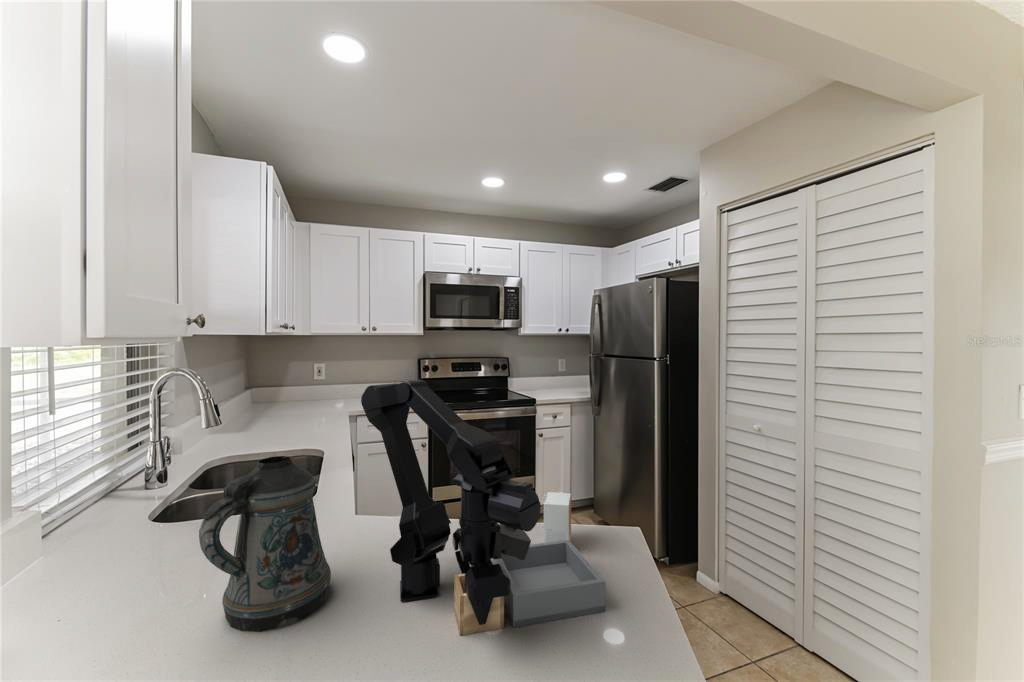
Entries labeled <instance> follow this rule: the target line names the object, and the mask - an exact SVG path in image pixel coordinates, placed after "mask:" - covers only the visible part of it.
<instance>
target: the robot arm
mask: <svg viewBox="0 0 1024 682" xmlns="http://www.w3.org/2000/svg"><path fill="white" fill-rule="evenodd" d="M360 402H361V405H362V406H361V407H362V408H363V411H364V413H365V415H366V419H367V420H368V421H367V422H369V423H370V424H371V425H372V426H373V427H374V428H375V429H377V430H378V431H379V432H380V434H381V437H382V441H383V444H384V448H385V451H386V454H387V455H386V456H387V458H388V461H389V465H390V468H391V471H392V475H393V478H394V482H395V485H396V488H397V491H398V495H399V498H400V502H401V506H402V509H401V514H400V519H399V524H398V528H399V533H400V538H399V539H398V540H397V541H396V542H395V544H393V545H392V546H391V548H390V549H389V551H390V557H391V561H392V562H393V563H395V564H397V565H400V581H399V584H400V585H399V590H400V591H399V595H400V596H399V597H400V598H399V601H400V602H402V603H403V602H408V601H409V602H410V601H415V600H424V599H429V598H435V597H436V598H437V597H438V596H439V592H438V591H439V590H438V588H440V586H441V563H440V560H439V558H438V557H437V554H438V553H440V552H443V551H444V550H445V548H446V544H447V542H448V541H449V539H450V538H449V537H450V535H451V526H450V524H451V523H452V522H451V520H450V518H449V516H448V514H447V513H448V512H447V510H446V509H447V508H446V505H445V503H444V502H443V501H440V502H436V501H435V500H434V499H433V498H432V497H431V496H430V493H429V490H428V488H427V484H426V481H425V478H424V475H423V471H422V469H421V466H420V462H419V459H418V456H417V453H416V450H415V446H414V444H413V440H412V437H411V434H410V431H409V428H408V424H407V423H408V422H407V421H408V418H409V414H410V409H411V410H412V411H413V412H414V414H416V415H417V416H418V417H419V418H420V420H422V421H423V422H424V423H425V424H426V426H428V428H429V429H431V431H432V432H433V433H434V434H435V435H436V436H437V437H438V438H439V439H440V440H441V441H442V443H443V444H444V445H445V447H446V452H447V457H448V458H449V460H450V462H451V463H452V464H453V466H454V467H455V469H456V470H457V471H458V474H457V475H456V476H455V477H453V478H452V479H451V481H450V484H451V485H453V486H456V487H460V496H461V497H460V517H458V524H459V528H457V529H456V530H455V531H454V532H453V534H452V546H453V550H454V551H455V552H454V555H455V557H456V561H457V564H458V567H459V570H460V572H461V574H465V584H464V587H465V590H466V594H467V596H468V599H469V601H470V603H471V606H472V608H473V611H474V613H475V616H476V618H477V621H478V623H479V625H483V624H486V622H487V618H488V615H489V611H490V608H491V604H492V601H493V598H496V597H502V596H508V595H509V594H510V578H509V576H508V574H507V572H506V570H505V569H504V568H503V567H502V566H501V565H500V564H492V558H493V559H501V553H502V554H505V555H508V556H512V557H517V558H518V559H519V560H525V558H526V555H527V552H528V549H529V546H530V545H531V542H532V540H531V538H530V537H529V535H528V533H527V532H531V531H532V530H533V529H534V528H535V527H536V525H537V523H538V521H539V518H540V515H541V514H540V513H541V506H542V505H541V501H540V499H539V496H538V494H537V493H536V492H535V491H534V489H533V488H534V485H533V483H531V482H528V481H522V482H521V481H518V480H517V481H516V480H514V479H515V478H516V474H515V472H514V470H513V469H512V466H511V465H510V463H509V461H508V458H506V456H505V454H504V452H503V449H502V448H503V447H502V445H501V443H500V441H499V440H498V439H497V438H496V437H494V436H493V435H492V434H490V433H488V432H487V431H485V430H484V429H482V428H479V427H476V426H473V425H470V424H469V423H468V422H467V421H465V420H464V419H463V418H462V417H460V416H459V414H457V413H456V412H455V411H454V410H453V409H452V408H451V407H450V406H449V405H448V404H447V403H446V402H445V401H443V399H442V398H440V396H438V395H437V394H436V393H435V391H433V390H432V389H431V388H430V386H429V383H428V382H426V380H423V379H415V380H404V381H402V382H400V383H397V382H395V383H383V384H382V383H381V384H371V385H368V386H367V387H366V388H365V390H364V392H363V393H362V395H361V398H360ZM494 470H495V472H492V473H490V474H487V475H485V476H483V474H486V473H487V472H488V473H489V472H491V471H494Z"/></svg>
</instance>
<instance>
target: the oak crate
mask: <svg viewBox="0 0 1024 682" xmlns="http://www.w3.org/2000/svg"><path fill="white" fill-rule="evenodd" d="M453 577H454V584H453V585H454V588H453V589H454V591H453V592H454V595H453V597H454V605H453V607H454V610H453V611H454V616H455V615H456V616H455V620H456V624H457V629H458V634H459V636H465V635H471V634H477V633H481V632H488V631H494V630H498V629H499V630H500V629H504V628H505V606H504V596H502V597H496V598H493V601H492V604H491V608H490V611H489V615H488V618H487V622H486V624H483V625H479V623H478V621H477V618H476V616H475V613H474V611H473V608H472V606H471V603H470V601H469V599H468V596H467V594H466V590H465V587H464V584H465V574H462V573H459V574H454V576H453Z"/></svg>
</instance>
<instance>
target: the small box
mask: <svg viewBox="0 0 1024 682" xmlns="http://www.w3.org/2000/svg"><path fill="white" fill-rule="evenodd" d="M564 540H569V541H570V542H571V543H572V493H566V492H552V491H548V492H547V495H546V497H545V501H544V503H543V543H548V542H556V541H564Z"/></svg>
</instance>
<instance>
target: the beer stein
mask: <svg viewBox="0 0 1024 682" xmlns="http://www.w3.org/2000/svg"><path fill="white" fill-rule="evenodd" d="M316 485H317V479H316V477H315V476H314V475H313V474H312V473H310V472H309V471H308V470H306V469H304V468H303V467H300V466H298V465H297V464H295V463H293V462H292V459H291V458H290V456H286V455H278V456H277V455H276V456H275V455H274V456H270V457H266V458H263V459H260V460H259V461H257V464H256V466H255V468H253V469H252V470H251V471H250V472H249V473H248V474H247V475H244V476H240V477H238V478H235V479H232V480H230V481H229V482H227V483H226V484H225V486H224V489H223V498H221V499H220V500H217V501H215V502H214V503H213V504H212V505H210V507H208V509H206V511H205V512H204V514H203V519H202V521H201V524H200V527H199V529H198V541H199V546H200V549H201V552H202V554H203V555H204V556H205V558H206V559H207V560H208V561H209V562H210V563H211V564H212V565H213V566H214V567H216V568H217V569H219V571H220V570H221V571H222V572H224V573H225V574H227V575H230V576H229V580H228V582H227V586H226V587H225V590H224V592H223V595H222V602H221V604H222V608H223V611H224V615H225V617H224V618H225V619H226V621H227V622H228V624H229V626H230V627H231V628H232V629H236V630H238V631H240V632H250V633H251V632H254V633H260V632H261V633H262V632H268V631H272V630H277V629H282V628H284V627H287V626H290V625H293V624H296V623H299V622H300V621H302V620H303V619H305V618H307V617H308V616H310V615H312V614H313V613H314V612H315V611H316V610H318V609H319V608H321V607H322V605H323V604H324V603H325V601H326V600H327V599H328V591H329V587H330V582H331V578H332V571H331V568H330V565H329V563H328V561H327V558H326V555H325V553H324V549H323V545H322V540H321V538H320V532H319V527H318V520H317V515H316V509H315V508H316V507H315V503H314V492H315V491H316ZM238 515H239V518H238V522H237V530H236V535H235V542H234V548H233V550H234V551H233V555H232V553H230V552H229V551H228V550H227V549H226V548H225V547H224V546H223V544H222V542H221V538H220V537H221V536H220V535H221V530H222V527H223V526H224V524H225V522H226V521H227V520H228V519H230V517H233V516H238Z"/></svg>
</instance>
